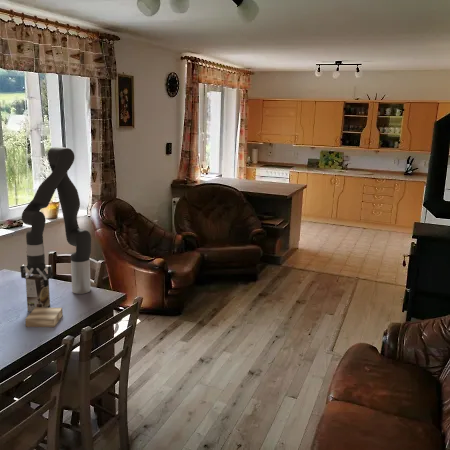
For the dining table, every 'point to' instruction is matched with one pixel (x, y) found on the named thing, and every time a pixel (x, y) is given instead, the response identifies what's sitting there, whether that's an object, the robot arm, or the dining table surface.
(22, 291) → the dining table surface
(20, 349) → the dining table surface
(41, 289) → the coffee box
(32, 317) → the birch block
